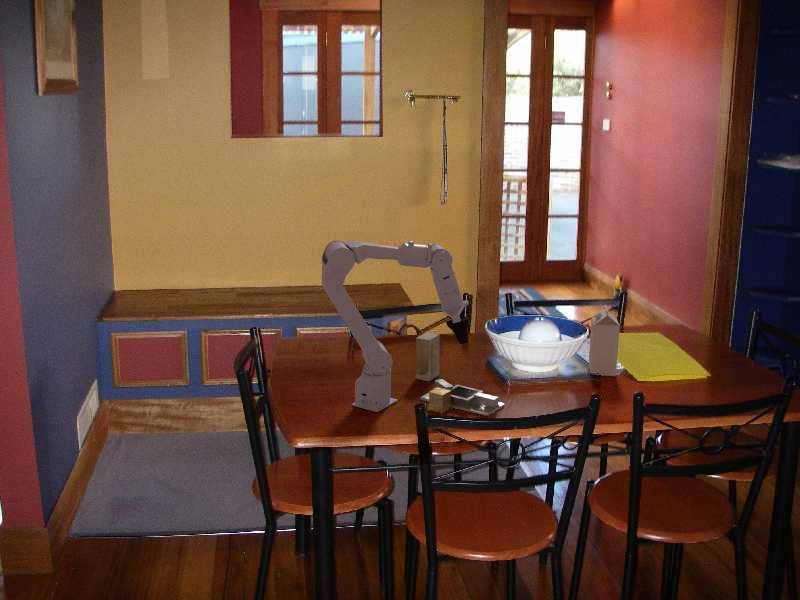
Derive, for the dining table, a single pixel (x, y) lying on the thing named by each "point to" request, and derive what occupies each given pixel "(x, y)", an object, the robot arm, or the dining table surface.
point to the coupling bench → (468, 398)
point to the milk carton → (604, 343)
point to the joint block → (439, 400)
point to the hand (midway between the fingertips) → (463, 337)
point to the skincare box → (427, 356)
